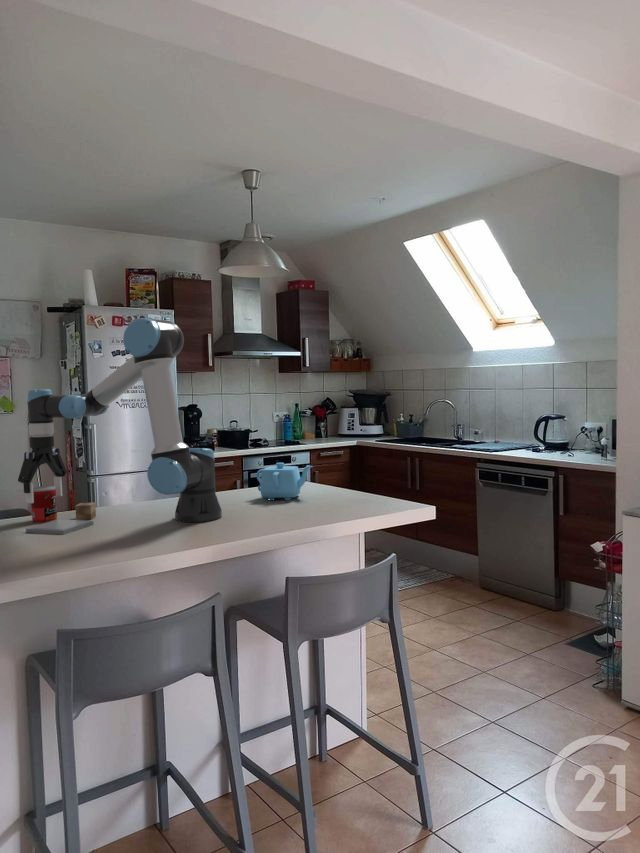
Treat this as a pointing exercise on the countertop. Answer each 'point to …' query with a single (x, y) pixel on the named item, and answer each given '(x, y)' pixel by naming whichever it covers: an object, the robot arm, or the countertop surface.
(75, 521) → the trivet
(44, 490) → the canned food
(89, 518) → the walnut block
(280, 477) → the teapot
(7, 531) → the countertop surface
